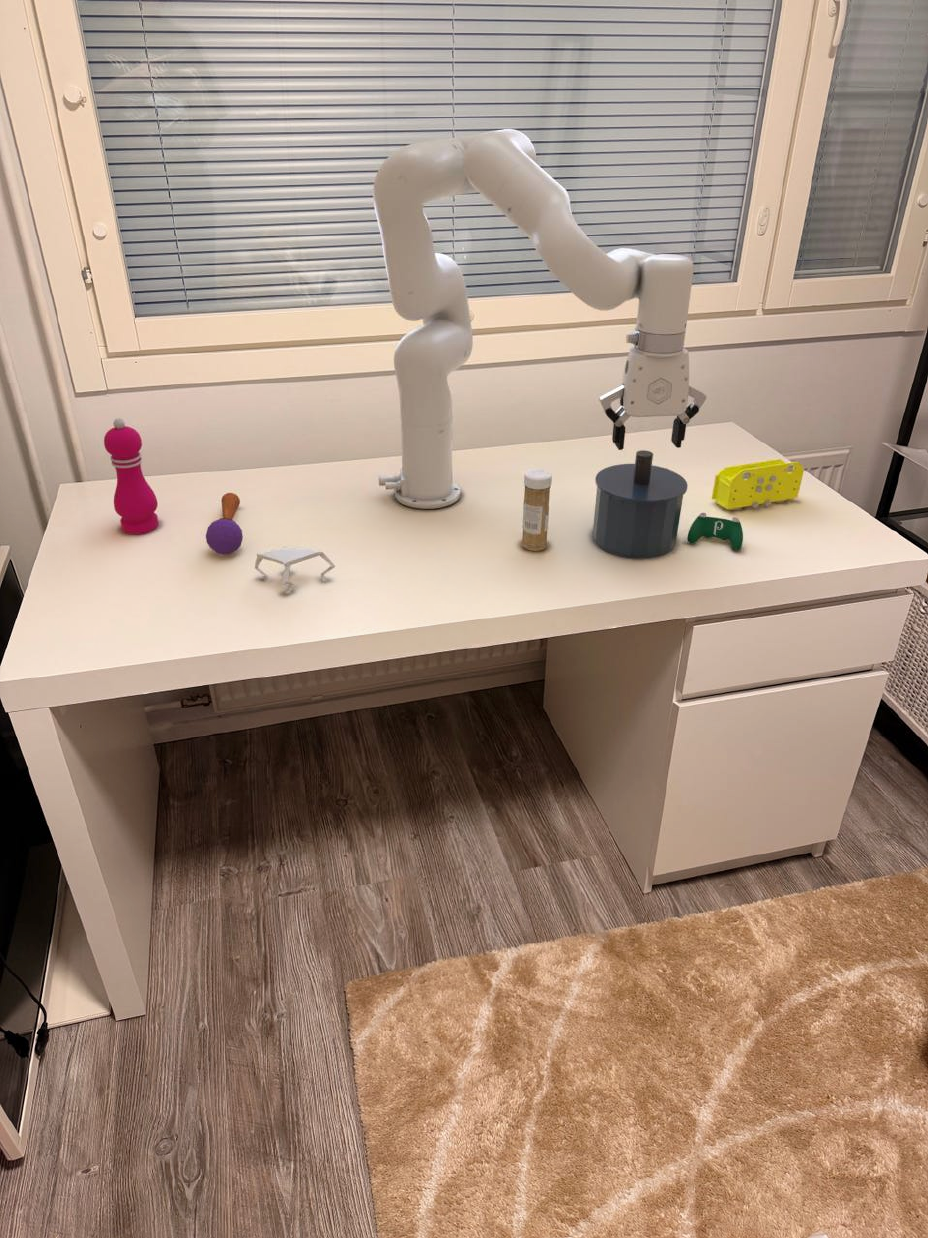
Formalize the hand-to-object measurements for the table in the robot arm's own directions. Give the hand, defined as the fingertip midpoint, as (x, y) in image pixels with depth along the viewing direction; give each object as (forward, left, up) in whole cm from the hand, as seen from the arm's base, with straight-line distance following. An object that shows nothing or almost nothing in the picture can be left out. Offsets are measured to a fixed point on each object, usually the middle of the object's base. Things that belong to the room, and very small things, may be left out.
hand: (647, 445), depth 146 cm
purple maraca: (-71, +8, -18) cm, 74 cm away
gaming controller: (+14, -2, -18) cm, 22 cm away
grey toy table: (-58, -10, -18) cm, 62 cm away
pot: (0, 0, -17) cm, 17 cm away
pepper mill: (-87, +12, -18) cm, 90 cm away
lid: (0, 0, -7) cm, 7 cm away
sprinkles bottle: (-18, -1, -18) cm, 25 cm away
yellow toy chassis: (+27, +13, -18) cm, 35 cm away
